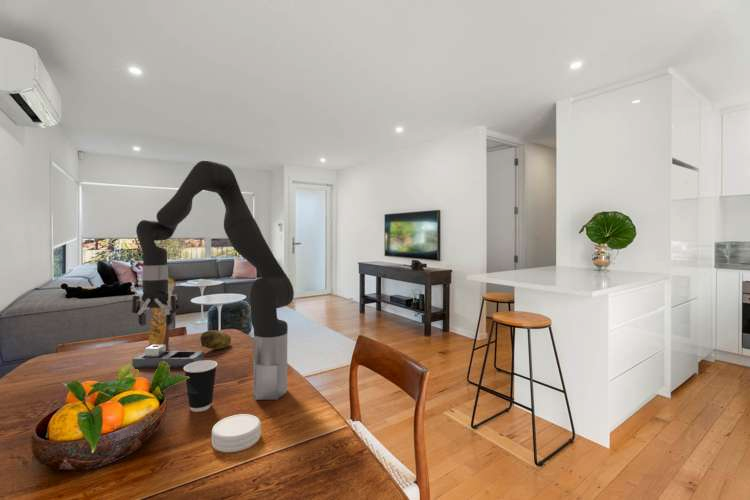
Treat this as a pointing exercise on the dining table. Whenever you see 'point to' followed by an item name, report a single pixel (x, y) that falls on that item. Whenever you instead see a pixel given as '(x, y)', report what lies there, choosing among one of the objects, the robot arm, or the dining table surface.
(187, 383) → the dixie cup
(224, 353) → the dining table surface
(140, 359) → the grey compartment tray
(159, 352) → the nut block
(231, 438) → the coaster
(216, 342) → the potato
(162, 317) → the pancake mix bag
